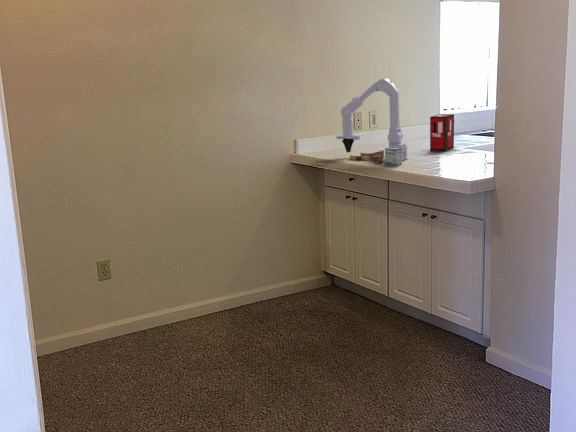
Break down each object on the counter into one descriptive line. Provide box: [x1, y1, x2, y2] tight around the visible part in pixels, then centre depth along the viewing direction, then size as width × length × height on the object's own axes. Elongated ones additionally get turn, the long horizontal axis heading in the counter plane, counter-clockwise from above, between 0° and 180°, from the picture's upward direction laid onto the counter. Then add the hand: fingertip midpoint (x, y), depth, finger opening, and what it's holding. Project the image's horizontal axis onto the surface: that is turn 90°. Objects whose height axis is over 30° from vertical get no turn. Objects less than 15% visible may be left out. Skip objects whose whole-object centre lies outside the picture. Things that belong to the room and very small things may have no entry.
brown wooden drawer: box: [349, 149, 385, 162], centre depth 352 cm, size 15×14×5 cm
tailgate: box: [342, 155, 354, 160], centre depth 358 cm, size 1×10×6 cm
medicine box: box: [384, 147, 403, 167], centre depth 332 cm, size 8×4×9 cm, turn 44°
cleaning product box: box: [429, 113, 455, 153], centre depth 377 cm, size 16×9×20 cm, turn 148°
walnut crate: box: [372, 155, 384, 165], centre depth 340 cm, size 4×4×4 cm
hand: (348, 152), depth 359 cm, fingers closed
